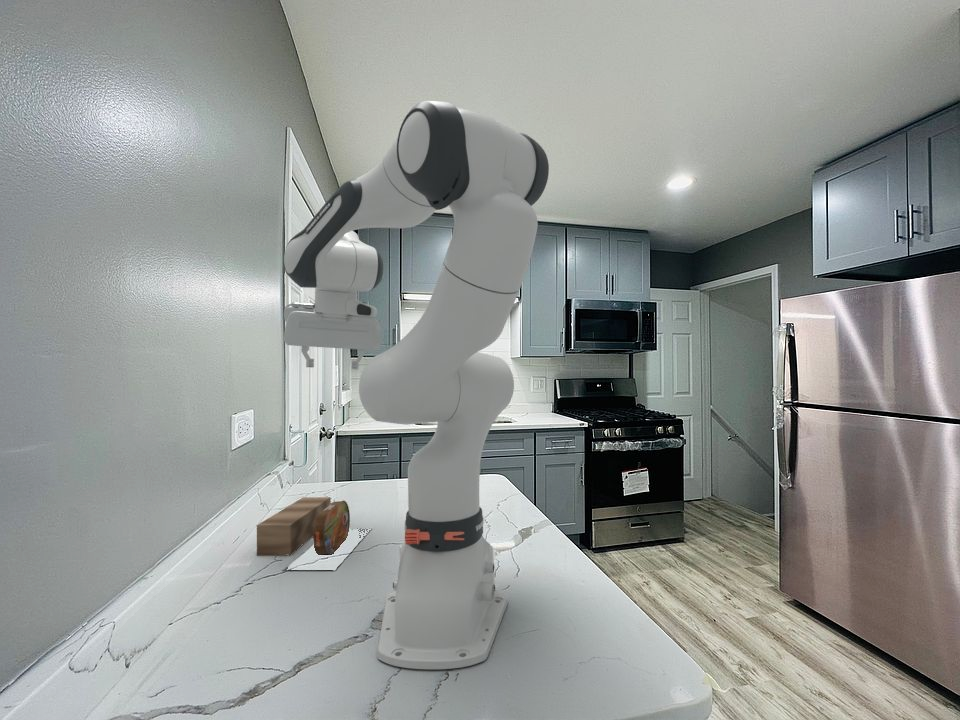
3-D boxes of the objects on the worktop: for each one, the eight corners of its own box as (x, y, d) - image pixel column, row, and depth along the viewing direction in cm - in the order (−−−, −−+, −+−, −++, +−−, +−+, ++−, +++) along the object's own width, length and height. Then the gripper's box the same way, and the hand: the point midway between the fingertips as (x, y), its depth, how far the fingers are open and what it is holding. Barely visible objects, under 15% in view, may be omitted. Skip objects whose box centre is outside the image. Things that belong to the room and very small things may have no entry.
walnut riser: (290, 555, 87) (290, 525, 88) (256, 555, 88) (256, 525, 88) (330, 521, 107) (330, 497, 108) (303, 521, 108) (303, 497, 108)
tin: (326, 562, 83) (326, 517, 84) (310, 562, 83) (309, 517, 84) (351, 533, 98) (350, 495, 99) (337, 533, 98) (337, 496, 99)
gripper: (282, 301, 89) (279, 367, 91) (383, 309, 95) (379, 372, 97) (286, 301, 95) (283, 363, 97) (381, 309, 101) (378, 368, 103)
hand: (332, 368), depth 97 cm, fingers open, 8 cm apart
